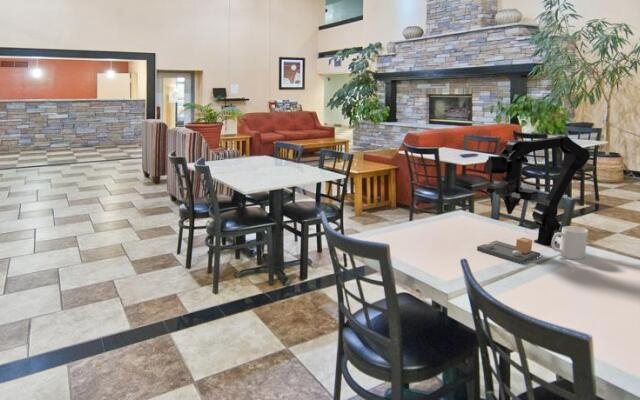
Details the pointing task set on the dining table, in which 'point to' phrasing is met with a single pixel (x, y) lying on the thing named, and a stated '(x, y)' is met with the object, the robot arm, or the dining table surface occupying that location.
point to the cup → (571, 242)
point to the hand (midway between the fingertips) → (509, 213)
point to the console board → (507, 251)
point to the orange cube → (524, 245)
